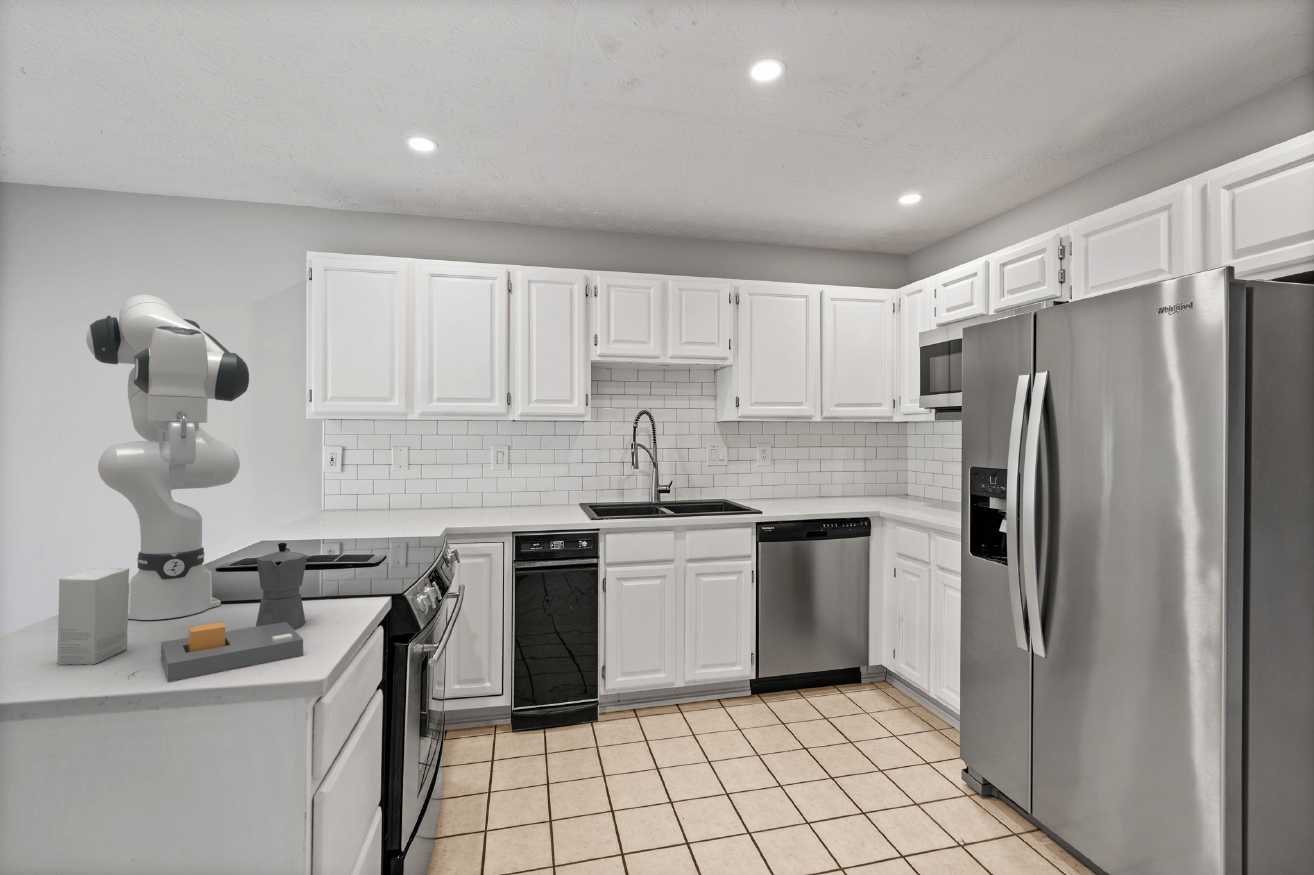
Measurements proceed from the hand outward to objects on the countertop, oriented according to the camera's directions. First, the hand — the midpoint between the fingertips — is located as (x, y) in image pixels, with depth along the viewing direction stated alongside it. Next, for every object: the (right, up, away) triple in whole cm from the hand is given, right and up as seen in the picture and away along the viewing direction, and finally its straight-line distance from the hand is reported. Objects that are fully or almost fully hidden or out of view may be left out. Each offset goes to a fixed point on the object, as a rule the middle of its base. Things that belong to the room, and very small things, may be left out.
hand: (176, 486), depth 116 cm
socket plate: (+11, -31, -1) cm, 33 cm away
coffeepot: (+9, -32, +18) cm, 37 cm away
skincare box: (-13, -31, -3) cm, 34 cm away
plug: (+8, -31, -4) cm, 32 cm away
